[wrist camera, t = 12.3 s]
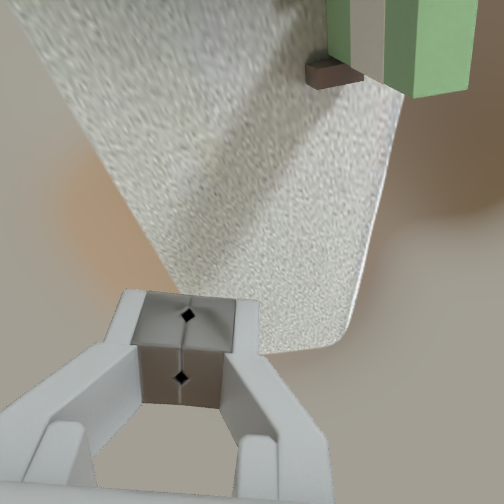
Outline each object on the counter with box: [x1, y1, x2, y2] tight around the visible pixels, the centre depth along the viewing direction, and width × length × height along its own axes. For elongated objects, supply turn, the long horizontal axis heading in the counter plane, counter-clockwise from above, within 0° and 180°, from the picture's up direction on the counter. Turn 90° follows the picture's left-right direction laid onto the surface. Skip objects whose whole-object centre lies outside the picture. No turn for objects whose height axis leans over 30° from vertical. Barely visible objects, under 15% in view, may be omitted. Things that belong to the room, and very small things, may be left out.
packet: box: [326, 0, 478, 99], centre depth 29 cm, size 16×6×3 cm
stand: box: [305, 58, 364, 90], centre depth 35 cm, size 4×10×2 cm, turn 8°
